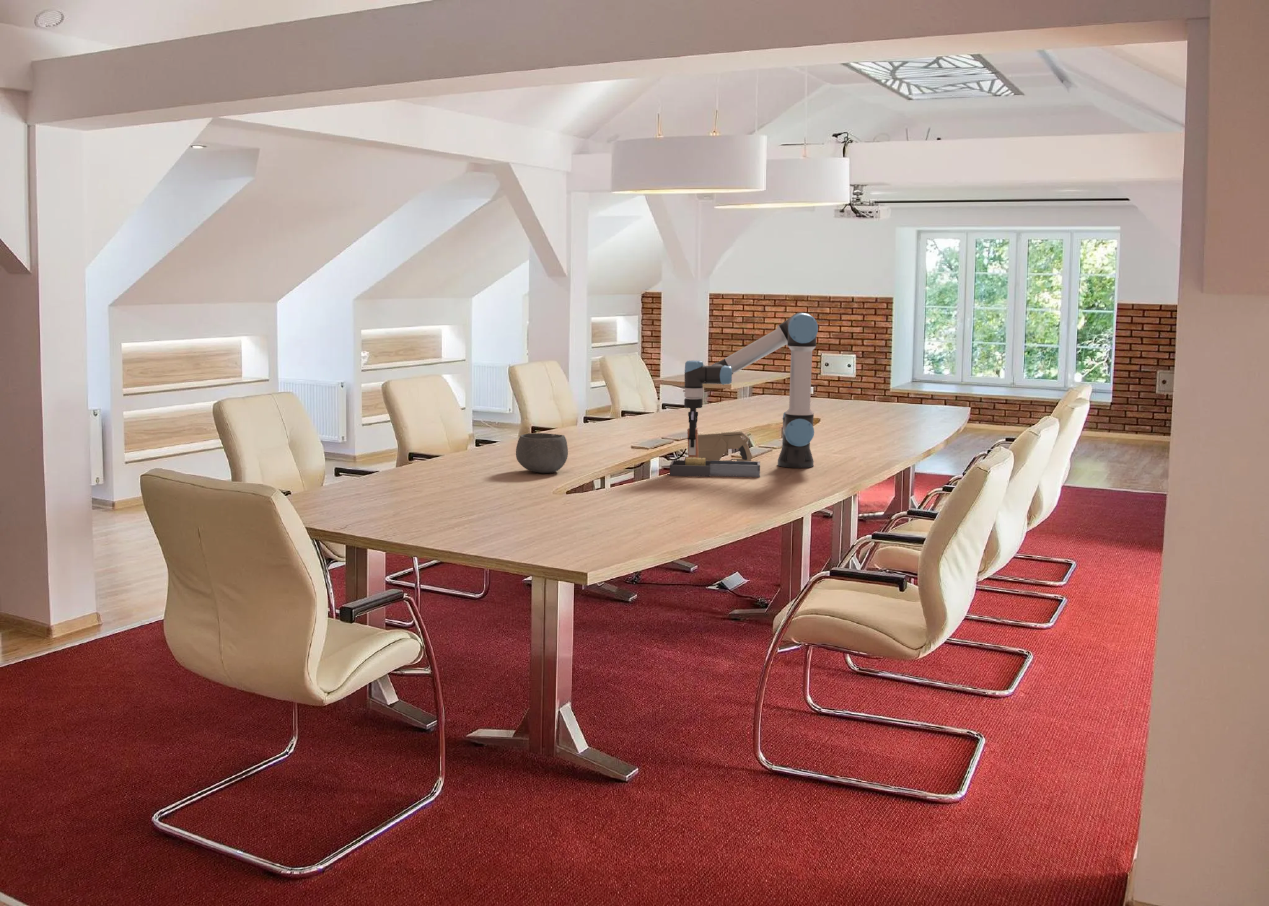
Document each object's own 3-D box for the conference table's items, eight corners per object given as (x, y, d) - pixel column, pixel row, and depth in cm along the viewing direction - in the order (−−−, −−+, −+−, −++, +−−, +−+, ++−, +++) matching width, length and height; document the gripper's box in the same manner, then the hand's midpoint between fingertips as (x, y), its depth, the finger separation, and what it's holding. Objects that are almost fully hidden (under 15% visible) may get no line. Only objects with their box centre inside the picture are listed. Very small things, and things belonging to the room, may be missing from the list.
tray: (711, 470, 501) (711, 460, 500) (709, 476, 487) (709, 466, 486) (672, 470, 502) (672, 459, 502) (669, 475, 488) (669, 465, 488)
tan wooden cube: (695, 467, 496) (695, 457, 496) (695, 468, 492) (695, 458, 492) (685, 466, 497) (686, 457, 496) (685, 468, 493) (685, 458, 492)
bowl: (506, 473, 490) (506, 436, 487) (532, 466, 508) (532, 430, 506) (552, 477, 481) (552, 440, 479) (577, 470, 500) (577, 434, 498)
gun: (752, 465, 516) (750, 430, 514) (752, 466, 513) (750, 431, 511) (695, 468, 519) (692, 434, 517) (695, 470, 516) (692, 435, 514)
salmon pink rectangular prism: (699, 464, 509) (697, 427, 507) (698, 467, 502) (696, 429, 500) (689, 464, 510) (688, 427, 508) (688, 467, 503) (687, 430, 501)
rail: (759, 472, 497) (760, 461, 496) (759, 477, 486) (760, 465, 486) (710, 471, 499) (711, 460, 498) (709, 475, 489) (709, 464, 488)
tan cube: (705, 467, 495) (705, 457, 495) (705, 469, 491) (705, 459, 491) (695, 467, 496) (695, 457, 495) (695, 468, 492) (695, 459, 491)
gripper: (685, 395, 511) (684, 450, 514) (682, 400, 494) (682, 457, 497) (703, 396, 510) (702, 451, 514) (701, 400, 493) (700, 457, 497)
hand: (692, 453), depth 505 cm, fingers open, 4 cm apart
